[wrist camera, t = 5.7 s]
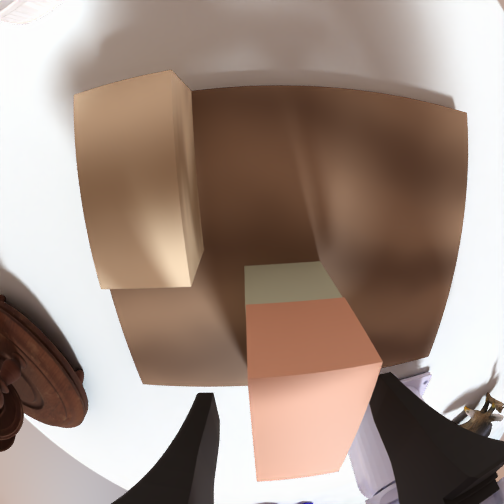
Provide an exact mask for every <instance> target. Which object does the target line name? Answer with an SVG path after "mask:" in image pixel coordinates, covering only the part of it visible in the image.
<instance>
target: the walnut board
mask: <svg viewBox="0 0 504 504" xmlns="http://www.w3.org/2000/svg"><path fill="white" fill-rule="evenodd" d="M191 94H192V115H193V132H194V148H195V161H196V174H197V186H198V197H199V208H200V218H201V228H202V237H203V246H204V252H203V254H202V257H201V260H200V263H199V265H198V268H197V271H196V274H195V277H194V280H193V283H192V286H191V287H170V288H137V289H110V291H111V295H112V298H113V302H114V305H115V308H116V312H117V315H118V318H119V321H120V324H121V327H122V330H123V333H124V336H125V339H126V342H127V344H128V347H129V350H130V353H131V355H132V358H133V361H134V363H135V366H136V368H137V371H138V373H139V376H140V378H141V380H142V383H143V384H149V385H166V386H202V387H211V386H248V374H247V335H246V312H245V272H244V266H253V265H270V264H286V263H301V262H316V261H320V262H321V263H322V265H323V267H324V268H325V270H326V271H327V273H328V274H329V276H330V278H331V279H332V281H333V282H334V284H335V286H336V287H337V289H338V291H339V292H340V294H341V295H342V297H345V299H346V300H347V302H348V304H349V305H350V307H351V309H352V310H353V312H354V313H355V315H356V317H357V318H358V320H359V322H360V323H361V325H362V327H363V328H364V330H365V332H366V333H367V335H368V337H369V339H370V340H371V342H372V344H373V345H374V347H375V349H376V351H377V352H378V354H379V356H380V358H381V359H382V361H383V363H382V366H381V368H384V367H389V366H393V365H397V364H402V363H406V362H410V361H413V360H417V359H421V358H425V357H428V356H429V354H430V351H431V348H432V346H433V343H434V340H435V337H436V334H437V331H438V328H439V325H440V322H441V319H442V316H443V313H444V309H445V306H446V302H447V299H448V295H449V291H450V287H451V283H452V279H453V275H454V270H455V266H456V261H457V256H458V251H459V245H460V239H461V233H462V226H463V218H464V210H465V200H466V188H467V171H468V127H467V113H465V112H462V111H459V110H455V109H452V108H448V107H445V106H441V105H437V104H433V103H429V102H424V101H420V100H415V99H411V98H406V97H400V96H395V95H389V94H383V93H376V92H369V91H362V90H353V89H343V88H332V87H316V86H282V85H276V86H242V87H227V88H215V89H205V90H196V91H191Z"/></svg>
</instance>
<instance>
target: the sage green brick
mask: <svg viewBox="0 0 504 504" xmlns="http://www.w3.org/2000/svg"><path fill="white" fill-rule="evenodd" d="M244 272H245V312H246V305H248V304H266V303H281V302H296V301H308V300H320V299H331V298H342V295H341V294H340V292H339V291H338V289H337V287H336V286H335V284H334V282H333V281H332V279H331V278H330V276H329V274H328V273H327V271H326V270H325V268H324V267H323V265H322V263H321V262H320V261H316V262H301V263H286V264H270V265H253V266H244Z"/></svg>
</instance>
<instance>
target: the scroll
mask: <svg viewBox="0 0 504 504" xmlns="http://www.w3.org/2000/svg"><path fill="white" fill-rule="evenodd" d="M4 301H5V297H4V295H0V452H2V451H5V450H7V449H9V448H10V447H11V446H12V444H13V443H14V440H15V436H16V434H17V433H18V431H19V430H20V428H21V426H22V424H23V418H24V413H25V414H27V415H28V416H30V417H32V418H34V419H36V420H38V421H40V422H42V423H45V424H48V425H52V426H58V427H63V428H72V427H76V426H78V425H80V424H81V423H82V421H83V420H84V417H85V415H86V413H87V410H88V399H87V395H86V393H85V390H84V388H83V385H82V383H83V379H84V372H83V371H82V370H77V371H74V370H73V368H72V367H71V365H70V364H69V363H68V361H67V360H66V359H65V357H64V356H63V355H62V354H61V352H60V351H59V350H58V349H57V348H56V347H55V345H54V344H53V343H52V342H51V341H50V340H49V339H48V338H47V337H46V335H45V334H44V333H43V332H42V331H41V330H40V329H39V328H37V327H36V326H35V325H34V324H33V323H32V322H31V321H30V320H29V319H28V318H26V317H25V316H24V315H23V314H21V313H20V312H19V311H18V310H16V309H15V308H13V307H12V306H10V305H9V304H7V303H5V302H4Z"/></svg>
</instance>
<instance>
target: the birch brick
mask: <svg viewBox="0 0 504 504" xmlns="http://www.w3.org/2000/svg"><path fill="white" fill-rule="evenodd" d="M74 132H75V148H76V160H77V170H78V178H79V186H80V193H81V200H82V206H83V212H84V218H85V223H86V228H87V233H88V238H89V243H90V247H91V252H92V256H93V260H94V264H95V268H96V272H97V276H98V280H99V283H100V287H101V289H137V288H170V287H191V286H192V283H193V280H194V277H195V274H196V271H197V268H198V265H199V263H200V260H201V257H202V254H203V252H204V246H203V237H202V228H201V218H200V208H199V197H198V186H197V174H196V161H195V148H194V132H193V115H192V94H191V90H190V89H189V88H188V87H187V86H186V85H185V84H184V83H183V82H182V81H181V79H180V78H179V77H178V76H177V75H176V74H175V73H174V72H173V71H172V70H167V71H162V72H157V73H152V74H147V75H142V76H138V77H133V78H129V79H125V80H121V81H117V82H114V83H110V84H107V85H103V86H100V87H97V88H93V89H90V90H87V91H84V92H81V93H78V94H75V95H74Z"/></svg>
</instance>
